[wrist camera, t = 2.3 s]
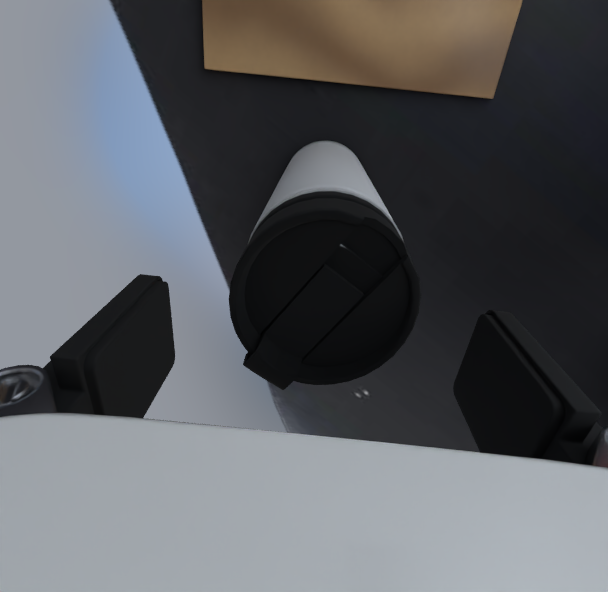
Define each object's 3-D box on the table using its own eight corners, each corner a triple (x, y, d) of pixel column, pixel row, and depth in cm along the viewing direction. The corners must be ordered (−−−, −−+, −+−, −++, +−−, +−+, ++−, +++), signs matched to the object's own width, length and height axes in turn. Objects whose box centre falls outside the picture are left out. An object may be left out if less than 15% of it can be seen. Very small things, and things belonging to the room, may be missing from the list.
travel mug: (266, 192, 29) (180, 333, 12) (319, 121, 26) (310, 165, 9) (325, 239, 31) (329, 425, 13) (380, 177, 28) (475, 306, 11)
